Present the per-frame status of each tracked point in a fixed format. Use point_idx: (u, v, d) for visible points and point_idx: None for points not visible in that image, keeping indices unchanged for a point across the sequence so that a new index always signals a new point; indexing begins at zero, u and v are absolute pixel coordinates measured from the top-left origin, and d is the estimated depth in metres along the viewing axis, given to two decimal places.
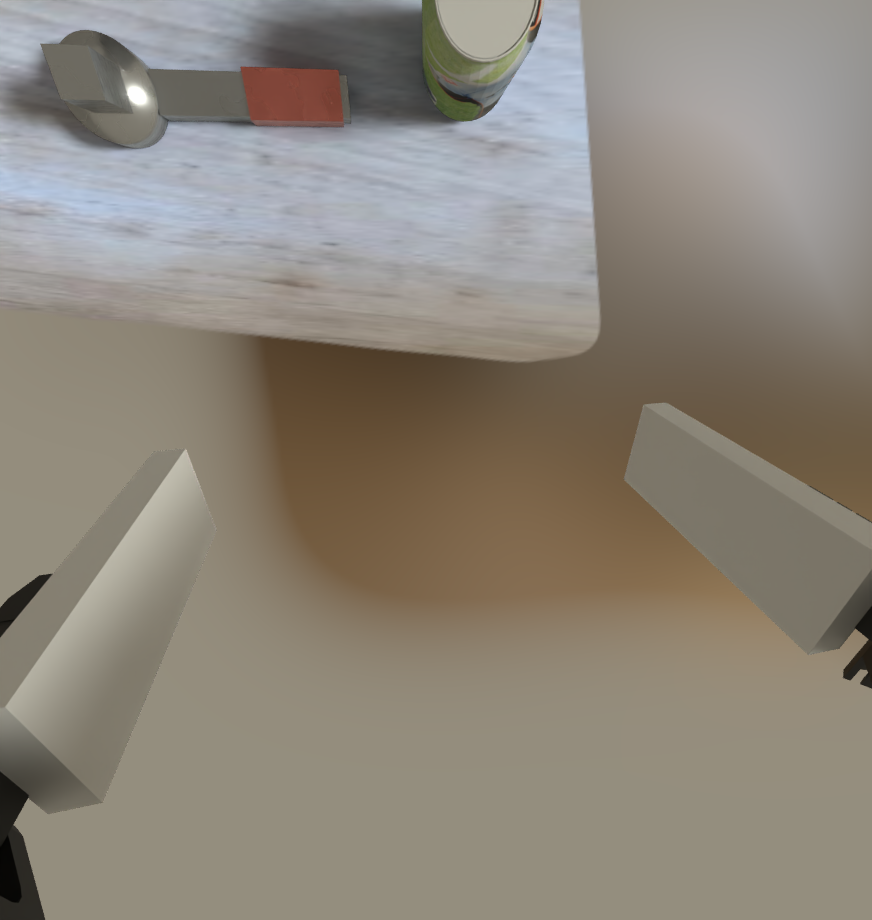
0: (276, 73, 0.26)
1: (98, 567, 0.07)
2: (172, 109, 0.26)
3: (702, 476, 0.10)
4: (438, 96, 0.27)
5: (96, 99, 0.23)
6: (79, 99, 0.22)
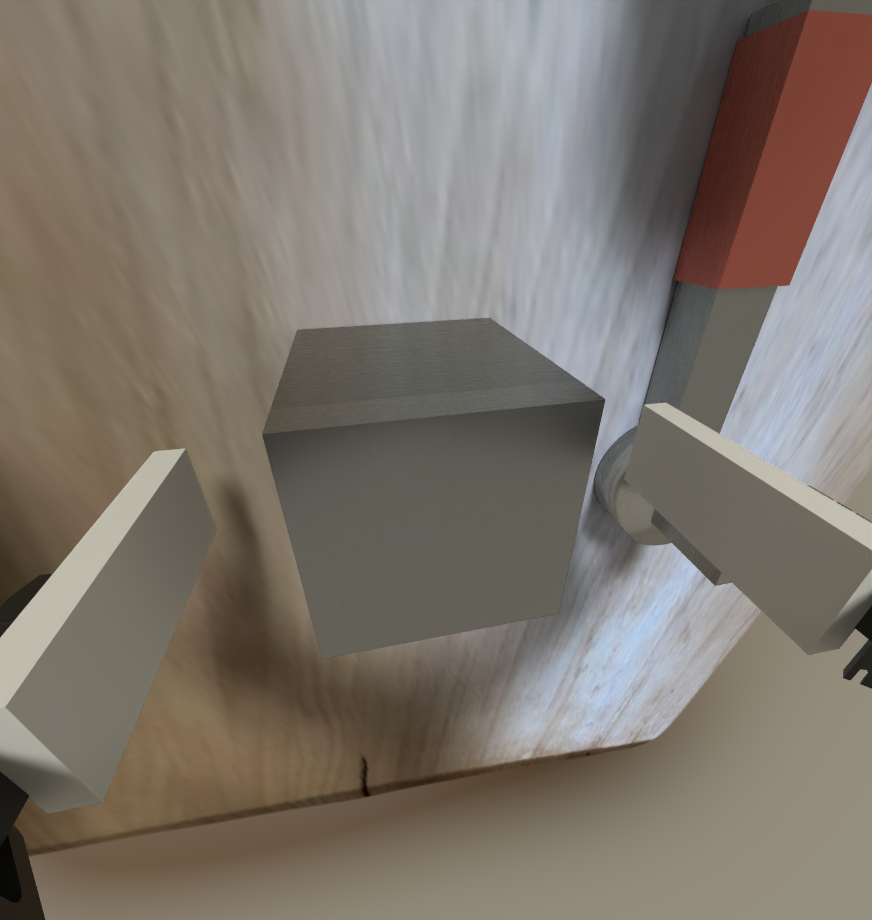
0: (752, 208, 0.11)
1: (98, 567, 0.07)
2: (719, 417, 0.15)
3: (702, 476, 0.10)
4: None
5: None
6: None
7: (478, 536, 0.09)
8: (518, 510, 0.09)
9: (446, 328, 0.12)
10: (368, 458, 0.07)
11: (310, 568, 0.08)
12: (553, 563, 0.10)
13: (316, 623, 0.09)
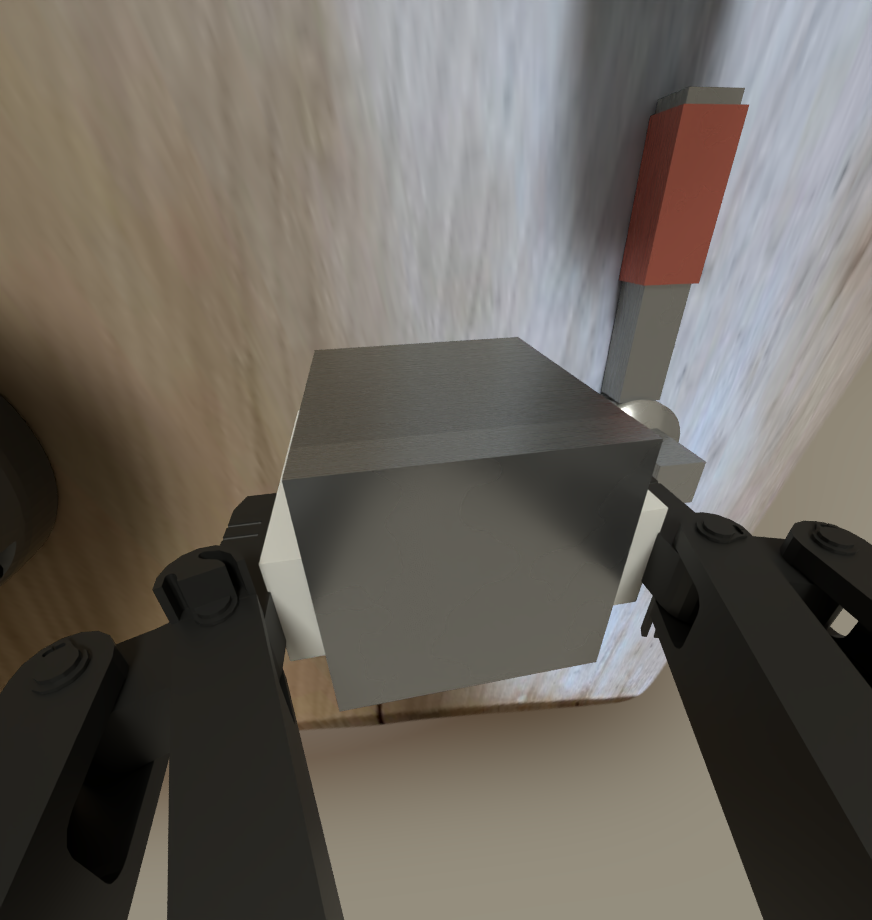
0: (662, 229, 0.17)
1: None
2: (658, 384, 0.20)
3: None
4: None
5: (702, 470, 0.18)
6: (695, 485, 0.19)
7: (514, 583, 0.08)
8: (559, 556, 0.08)
9: (473, 349, 0.12)
10: (398, 505, 0.07)
11: (330, 619, 0.08)
12: (594, 611, 0.09)
13: (334, 675, 0.08)
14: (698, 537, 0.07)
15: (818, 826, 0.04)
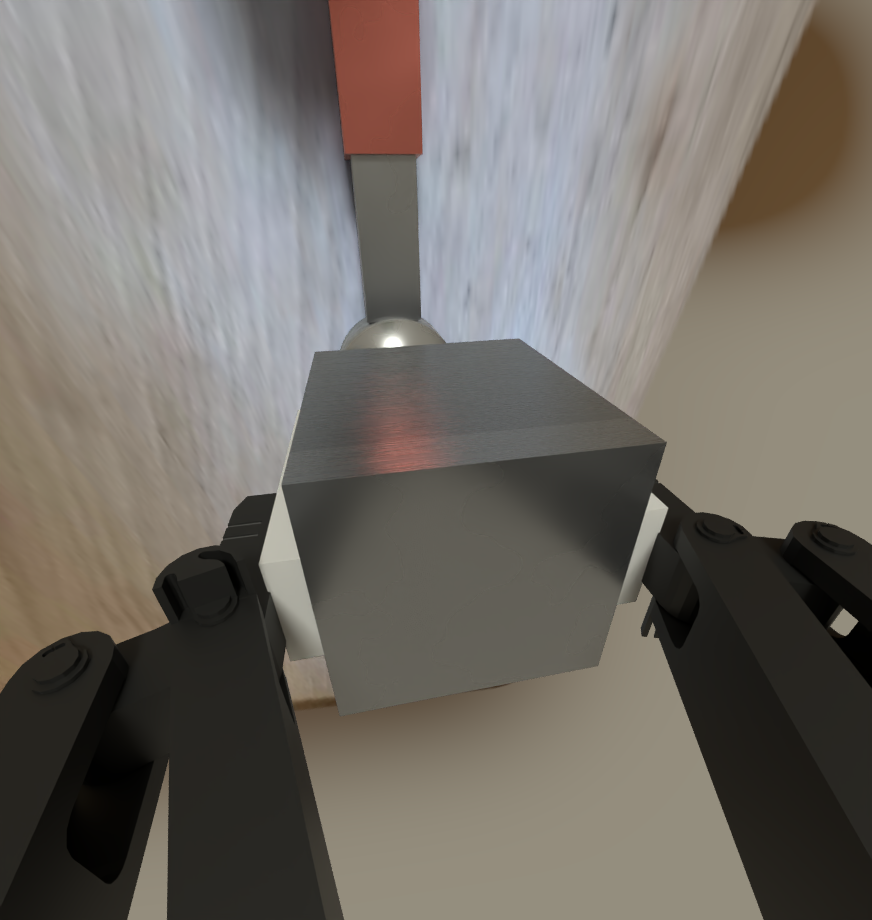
0: (344, 67, 0.12)
1: None
2: (413, 298, 0.16)
3: None
4: None
5: None
6: None
7: (515, 588, 0.08)
8: (561, 561, 0.08)
9: (473, 350, 0.12)
10: (398, 510, 0.07)
11: (330, 624, 0.08)
12: (595, 614, 0.09)
13: (334, 680, 0.08)
14: (698, 537, 0.07)
15: (818, 827, 0.04)
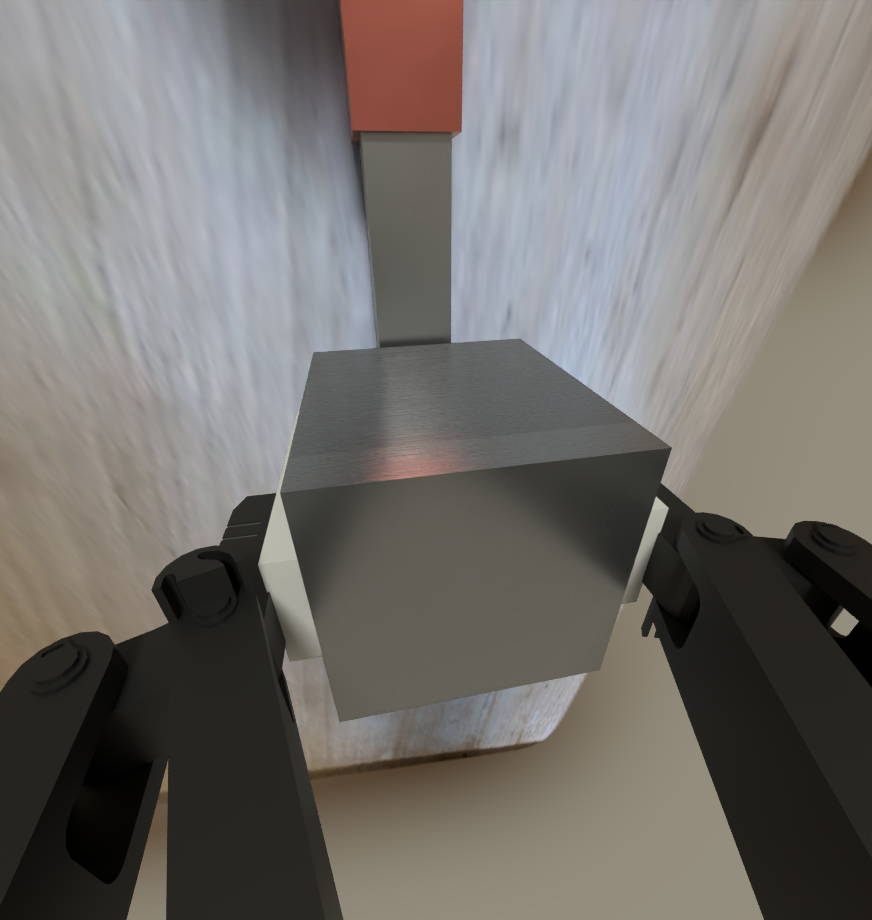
0: (353, 0, 0.08)
1: None
2: (441, 328, 0.12)
3: None
4: None
5: None
6: None
7: (518, 594, 0.08)
8: (564, 566, 0.08)
9: (474, 351, 0.12)
10: (399, 517, 0.06)
11: (330, 631, 0.07)
12: (598, 619, 0.09)
13: (334, 686, 0.08)
14: (699, 537, 0.07)
15: (819, 827, 0.04)
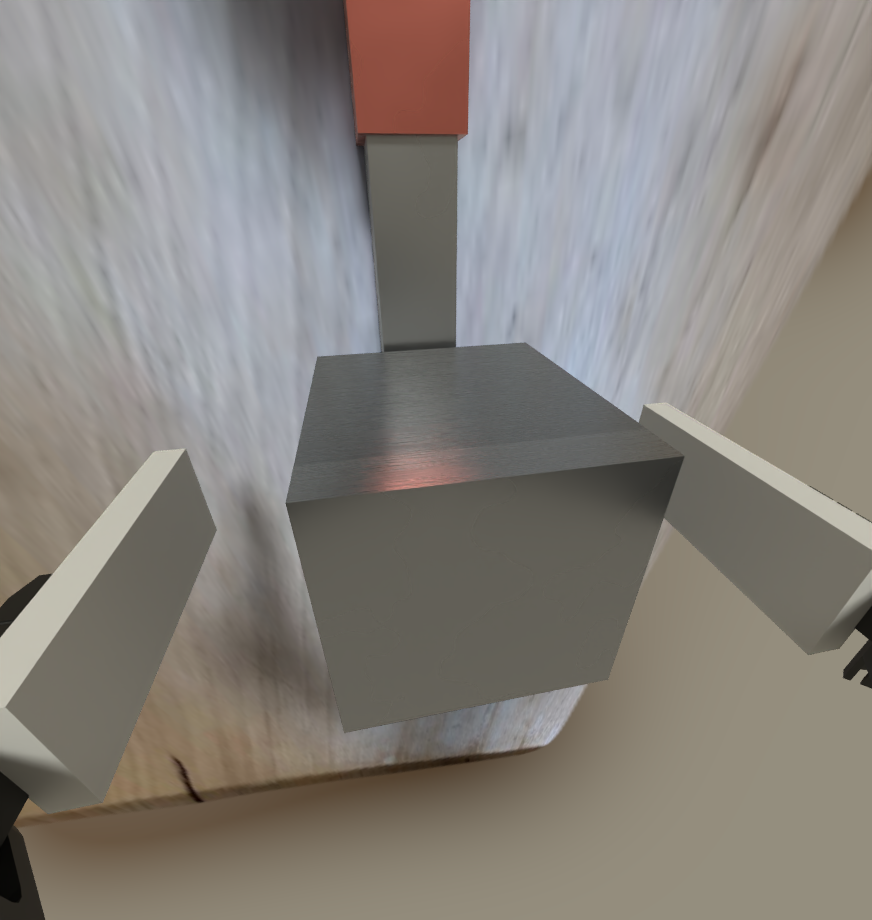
0: (359, 2, 0.08)
1: (98, 567, 0.07)
2: (446, 332, 0.12)
3: (702, 476, 0.10)
4: None
5: None
6: None
7: (526, 603, 0.08)
8: (574, 576, 0.08)
9: (480, 355, 0.11)
10: (407, 527, 0.06)
11: (335, 642, 0.07)
12: (607, 628, 0.09)
13: (339, 697, 0.08)
14: None
15: None
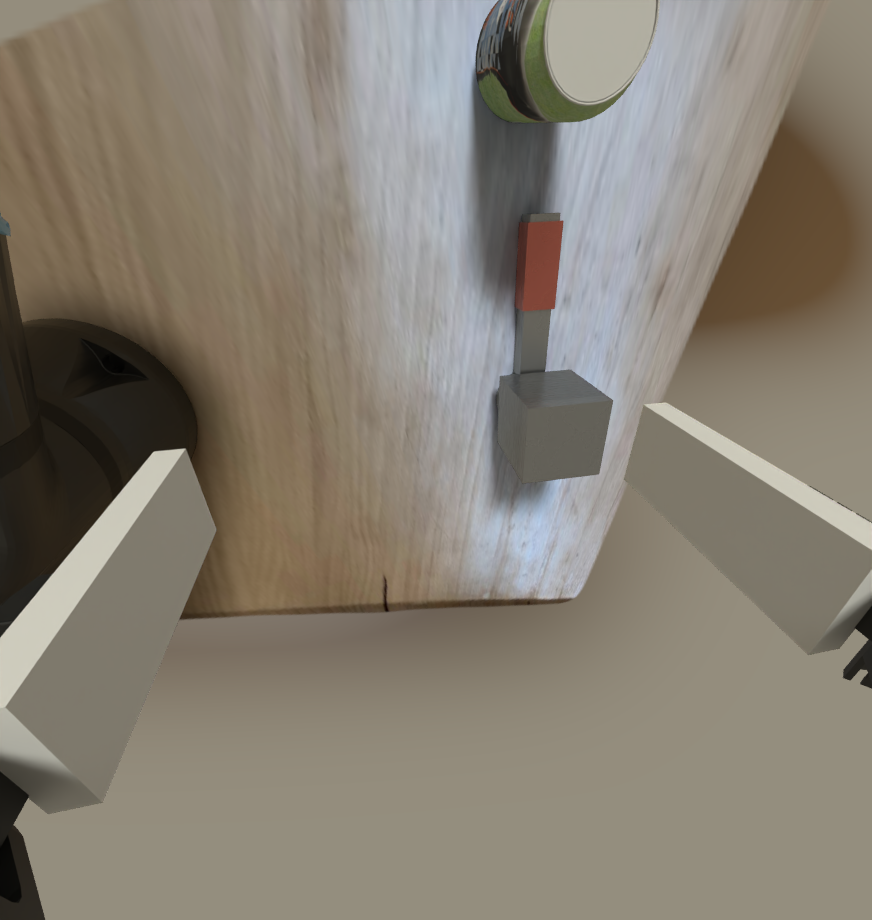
0: (528, 281, 0.31)
1: (98, 567, 0.07)
2: (542, 366, 0.35)
3: (702, 476, 0.10)
4: None
5: None
6: None
7: (575, 441, 0.30)
8: (587, 433, 0.30)
9: (555, 375, 0.34)
10: (550, 416, 0.29)
11: (528, 448, 0.30)
12: (597, 452, 0.31)
13: (524, 468, 0.31)
14: None
15: None
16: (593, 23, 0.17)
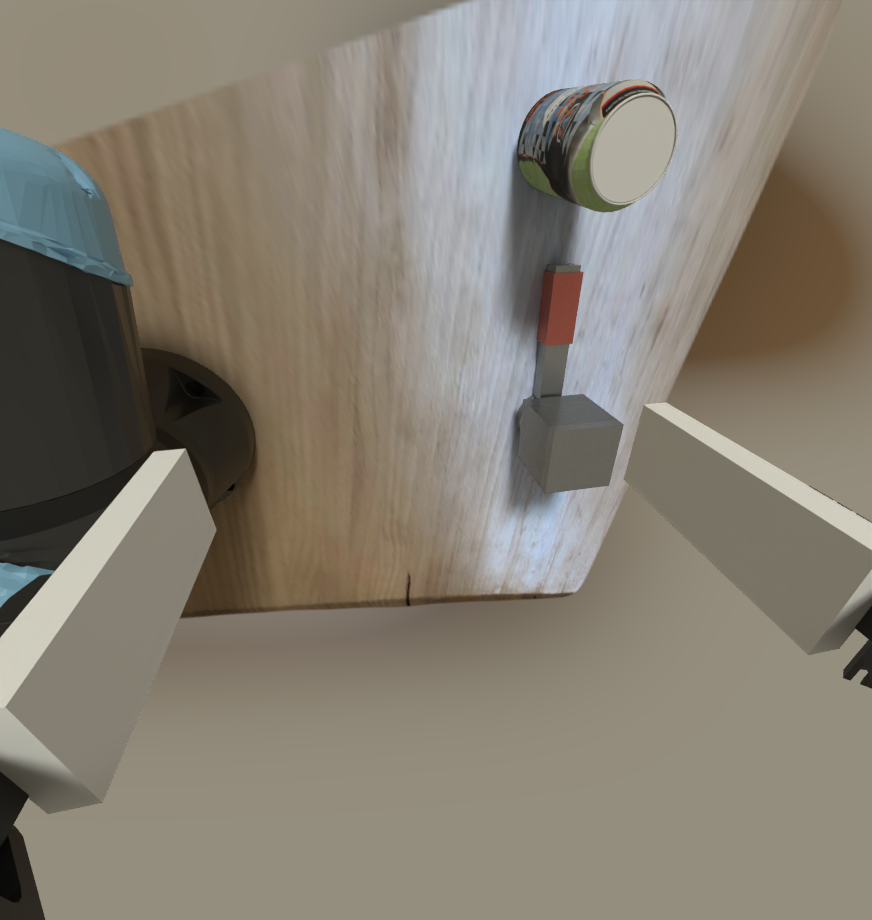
0: (551, 321, 0.36)
1: (98, 567, 0.07)
2: (559, 391, 0.40)
3: (702, 477, 0.10)
4: None
5: None
6: None
7: (591, 458, 0.36)
8: (601, 451, 0.35)
9: (571, 399, 0.39)
10: (572, 437, 0.34)
11: (551, 464, 0.35)
12: (608, 467, 0.36)
13: (547, 481, 0.36)
14: None
15: None
16: (627, 150, 0.22)
